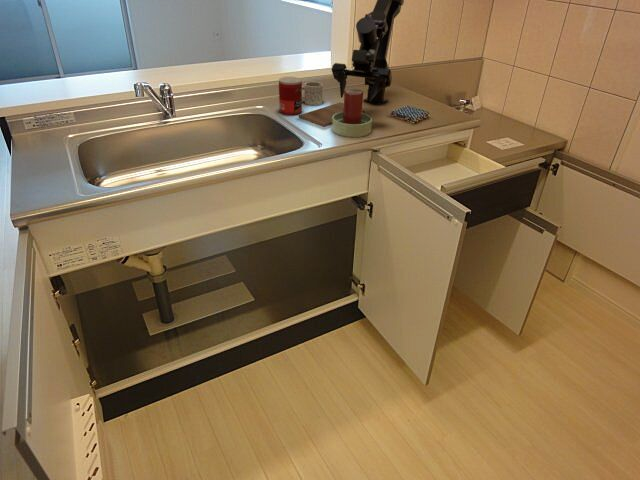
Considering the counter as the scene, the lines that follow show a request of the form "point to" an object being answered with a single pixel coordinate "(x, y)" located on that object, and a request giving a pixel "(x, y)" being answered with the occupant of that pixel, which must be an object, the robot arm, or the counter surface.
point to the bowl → (351, 126)
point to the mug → (313, 93)
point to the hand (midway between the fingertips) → (355, 98)
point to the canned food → (290, 95)
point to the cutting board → (323, 114)
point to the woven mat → (409, 114)
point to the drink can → (352, 106)
